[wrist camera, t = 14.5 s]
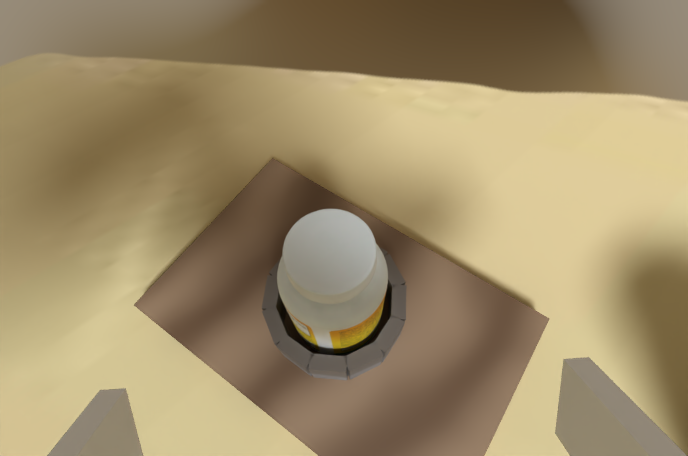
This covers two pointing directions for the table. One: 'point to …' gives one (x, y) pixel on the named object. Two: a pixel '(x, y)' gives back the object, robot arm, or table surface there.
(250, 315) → the collar board
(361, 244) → the supplement bottle
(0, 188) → the table surface
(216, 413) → the table surface
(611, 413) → the robot arm
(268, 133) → the table surface
